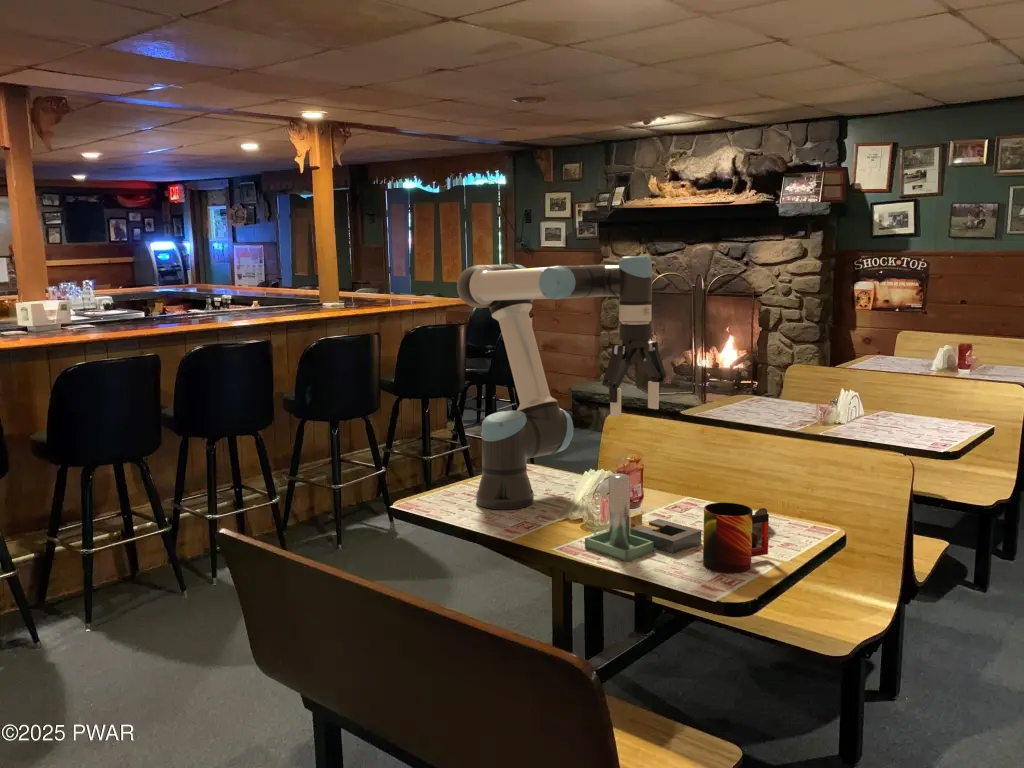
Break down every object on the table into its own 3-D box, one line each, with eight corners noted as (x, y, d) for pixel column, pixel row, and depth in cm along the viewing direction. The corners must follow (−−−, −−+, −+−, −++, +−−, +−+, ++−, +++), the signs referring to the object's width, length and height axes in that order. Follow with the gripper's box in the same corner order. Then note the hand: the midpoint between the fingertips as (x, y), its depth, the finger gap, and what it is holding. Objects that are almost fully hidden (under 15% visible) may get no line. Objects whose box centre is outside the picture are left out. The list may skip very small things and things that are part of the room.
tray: (584, 547, 184) (584, 538, 184) (612, 538, 190) (612, 529, 189) (626, 561, 175) (626, 551, 175) (653, 551, 181) (654, 541, 180)
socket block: (630, 541, 188) (630, 528, 187) (658, 531, 194) (658, 518, 194) (673, 554, 179) (673, 541, 178) (701, 543, 185) (701, 530, 185)
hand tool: (756, 551, 181) (757, 530, 180) (738, 548, 183) (738, 527, 182) (776, 526, 197) (777, 507, 197) (759, 524, 199) (759, 505, 198)
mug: (768, 559, 175) (770, 503, 174) (737, 578, 165) (738, 519, 164) (726, 548, 182) (728, 495, 180) (694, 566, 172) (695, 510, 170)
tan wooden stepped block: (625, 532, 193) (625, 515, 192) (636, 528, 195) (637, 511, 195) (651, 540, 187) (651, 522, 186) (662, 536, 190) (662, 519, 189)
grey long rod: (604, 547, 182) (604, 476, 180) (617, 542, 185) (618, 472, 183) (620, 552, 179) (620, 479, 177) (633, 547, 182) (633, 476, 180)
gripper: (611, 327, 184) (611, 421, 187) (681, 320, 200) (680, 407, 204) (586, 325, 190) (587, 417, 193) (656, 318, 206) (656, 403, 209)
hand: (634, 412), depth 198 cm, fingers open, 13 cm apart
